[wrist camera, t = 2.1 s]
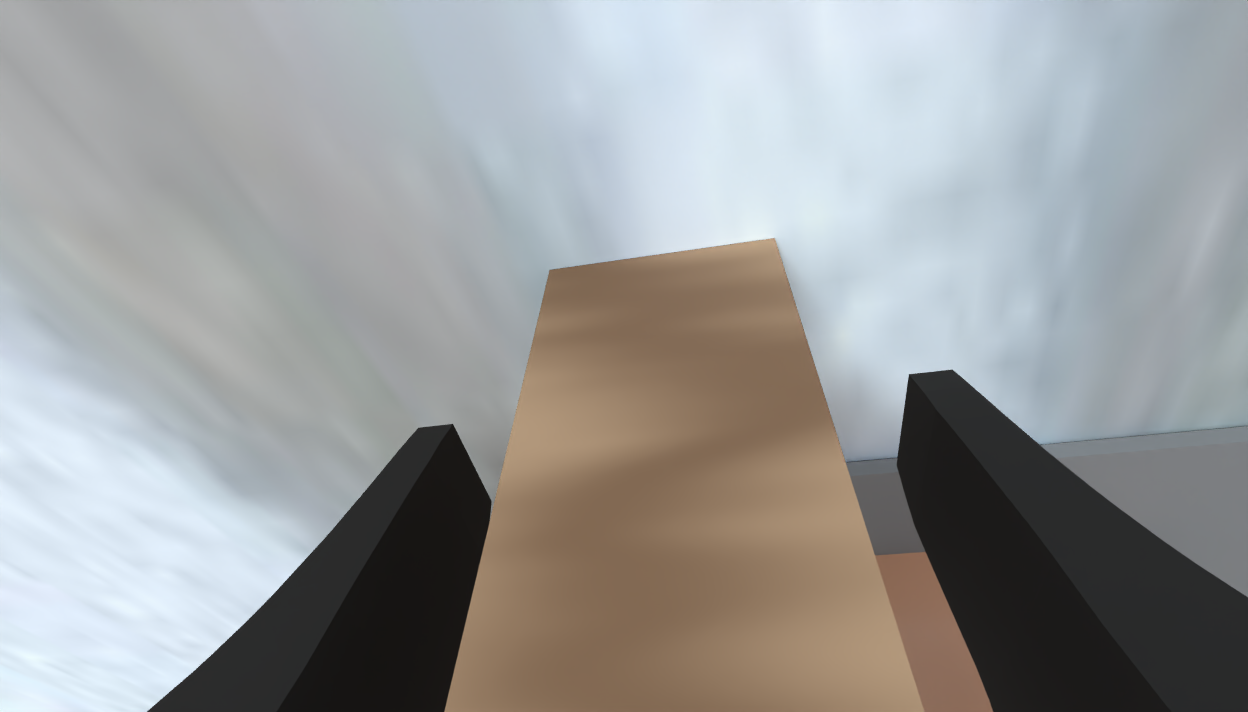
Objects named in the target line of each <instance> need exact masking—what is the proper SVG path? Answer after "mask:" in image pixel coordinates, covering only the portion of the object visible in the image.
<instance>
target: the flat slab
mask: <svg viewBox="0 0 1248 712" xmlns="http://www.w3.org/2000/svg"><path fill="white" fill-rule="evenodd" d="M875 557H876V560H877V563H878V566H879V570H880V573H881V576H882V579H883V582H884V585H885V589H886V592H887V595H888V598H889V601H890V604H891V608H892V611H893V614H894V617H895V620H896V623H897V626H898V630H899V633H900V636H901V639H902V642H903V645H904V649H905V652H906V655H907V658H908V661H909V664H910V668H911V671H912V674H913V677H914V680H915V683H916V687H917V690H918V693H919V696H920V699H921V702H922V705H923V709H924V712H993V710H992V707H991V704H990V701H989V698H988V696H987V693H986V691H985V688H984V686H983V683H982V681H981V678H980V676H979V673H978V671H977V668H976V666H975V663H974V661H973V659H972V657H971V654H970V652H969V650H968V648H967V645H966V643H965V641H964V638H963V636H962V634H961V632H960V629H959V627H958V625H957V623H956V620H955V618H954V616H953V613H952V611H951V609H950V607H949V604H948V602H947V600H946V598H945V595H944V593H943V591H942V588H941V586H940V584H939V582H938V579H937V577H936V575H935V572H934V570H933V568H932V566H931V563H930V561H929V559H928V556H927V554H926V552H917V553H903V554H889V555H875Z"/></svg>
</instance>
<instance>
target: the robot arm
mask: <svg viewBox="0 0 1248 712" xmlns="http://www.w3.org/2000/svg"><path fill="white" fill-rule="evenodd" d="M897 469H898V472H899V476H900V479H901V483H902V486H903V490H904V493H905V497H906V500H907V503H908V506H909V510H910V513H911V516H912V519H913V523H914V526H915V528H916V531H917V533H918V535H919V538H920V540H921V542H922V545H923V547H924V549H925V552H926V554H927V556H928V559H929V561H930V563H931V566H932V568H933V570H934V572H935V575H936V577H937V579H938V582H939V584H940V586H941V588H942V591H943V593H944V595H945V598H946V600H947V602H948V604H949V607H950V609H951V611H952V613H953V616H954V618H955V620H956V623H957V625H958V627H959V629H960V632H961V634H962V636H963V638H964V641H965V643H966V645H967V648H968V650H969V652H970V654H971V657H972V659H973V661H974V663H975V666H976V668H977V671H978V673H979V676H980V678H981V681H982V683H983V686H984V688H985V691H986V693H987V696H988V698H989V701H990V704H991V707H992V710H993V712H1248V597H1247V596H1245V595H1244V594H1242V593H1241V592H1239V591H1237V590H1236V589H1234V588H1233V587H1231V586H1230V585H1228V584H1227V583H1225V582H1224V581H1222V580H1221V579H1219V578H1218V577H1216V576H1215V575H1213V574H1211V573H1210V572H1208V571H1207V570H1205V569H1204V568H1202V567H1201V566H1199V565H1198V564H1196V563H1195V562H1193V561H1192V560H1190V559H1189V558H1187V557H1186V556H1185V555H1183V554H1182V553H1180V552H1179V551H1177V550H1176V549H1174V548H1173V547H1172V546H1170V545H1169V544H1167V543H1166V542H1164V541H1163V540H1162V539H1160V538H1159V537H1157V536H1156V535H1155V534H1153V533H1152V532H1151V531H1149V530H1148V529H1147V528H1145V527H1144V526H1143V525H1141V524H1140V523H1138V522H1137V521H1136V520H1134V519H1133V518H1132V517H1130V516H1129V515H1128V514H1126V513H1125V512H1124V511H1122V510H1121V509H1120V508H1118V507H1117V506H1116V505H1114V504H1113V503H1112V502H1110V501H1109V500H1108V499H1106V498H1105V497H1104V496H1103V495H1101V494H1100V493H1099V492H1097V491H1096V490H1095V489H1094V488H1092V487H1091V486H1090V485H1088V484H1087V483H1086V482H1085V481H1084V480H1082V479H1081V478H1080V477H1079V476H1077V475H1076V474H1075V473H1074V472H1072V471H1071V470H1070V469H1069V468H1067V467H1066V466H1065V465H1064V464H1062V463H1061V462H1060V461H1059V460H1057V459H1056V458H1055V457H1054V456H1053V455H1051V454H1050V453H1049V452H1048V451H1046V450H1045V449H1044V448H1043V447H1042V446H1040V445H1039V444H1038V443H1037V442H1036V441H1034V440H1033V439H1032V438H1031V437H1030V436H1029V435H1027V434H1026V433H1025V432H1024V431H1023V430H1022V429H1020V428H1019V427H1018V426H1017V425H1016V424H1015V423H1013V422H1012V421H1011V420H1010V419H1009V418H1008V417H1006V416H1005V415H1004V414H1003V413H1002V412H1001V411H1000V410H998V409H997V408H996V407H995V406H994V405H993V404H992V403H990V402H989V401H988V400H987V399H986V398H985V397H984V396H982V395H981V394H980V393H979V392H978V391H977V390H976V389H974V388H973V387H972V386H971V385H970V384H969V383H968V382H966V381H965V380H964V379H963V378H962V377H961V376H959V375H958V374H957V373H956V372H954V371H953V370H945V371H936V372H927V373H917V374H909V378H908V386H907V393H906V400H905V407H904V414H903V422H902V429H901V436H900V443H899V450H898V458H897ZM490 512H491V500H490V497H489V495H488V493H487V491H486V489H485V487H484V485H483V483H482V481H481V479H480V477H479V475H478V473H477V471H476V469H475V467H474V465H473V463H472V461H471V459H470V457H469V455H468V453H467V451H466V449H465V447H464V445H463V443H462V441H461V439H460V437H459V435H458V433H457V431H456V429H455V427H454V425H453V424H449V425H440V426H431V427H422V428H418V429H417V430H416V431H415V432H414V434H413V435H412V436H411V437H410V438H409V439H408V440H407V442H406V443H405V444H404V445H403V446H402V447H401V449H400V450H399V451H398V452H397V453H396V455H395V456H394V457H393V458H392V459H391V461H390V462H389V463H388V464H387V465H386V467H385V468H384V469H383V470H382V471H381V473H380V474H379V475H378V476H377V478H376V479H375V480H374V481H373V482H372V484H371V485H370V486H369V487H368V488H367V490H366V491H365V492H364V493H363V494H362V495H361V497H360V498H359V499H358V500H357V501H356V503H355V504H354V505H353V506H352V507H351V508H350V510H349V511H348V512H347V513H346V514H345V515H344V517H343V518H342V519H341V520H340V521H339V523H338V524H337V525H336V526H335V527H334V528H333V530H332V531H331V532H330V533H329V534H328V535H327V537H326V538H325V539H324V540H323V541H322V542H321V543H320V544H319V545H318V546H317V547H316V549H315V550H314V551H313V552H312V553H311V554H310V555H309V556H308V557H307V558H306V559H305V561H304V562H303V563H302V564H301V565H300V566H299V567H298V568H297V569H296V570H295V571H294V573H293V574H292V575H291V576H290V577H289V578H288V579H287V580H286V581H285V582H284V583H283V585H282V586H281V587H280V588H279V589H278V590H277V591H276V592H275V593H274V594H273V595H272V596H271V597H270V598H269V599H268V600H267V601H266V602H265V604H264V605H263V606H262V607H261V608H260V609H259V610H258V611H257V612H256V613H255V614H254V615H253V616H252V617H251V618H250V619H249V620H248V621H247V622H246V623H245V624H244V625H243V626H242V627H240V628H239V629H238V630H237V631H236V632H235V633H234V634H233V635H232V636H231V637H230V638H229V639H228V640H227V641H226V642H225V643H224V644H223V645H222V646H220V647H219V648H218V649H217V650H216V651H215V652H214V653H213V654H212V655H211V656H210V657H209V658H208V659H207V660H206V661H205V662H203V663H202V664H201V665H200V666H199V667H198V668H197V669H196V670H195V671H194V672H192V673H191V674H190V675H189V676H188V677H187V678H186V679H184V680H183V681H182V682H181V683H180V684H179V685H177V686H176V687H175V688H174V689H173V690H172V691H170V692H169V693H168V694H167V695H166V696H165V697H163V698H162V699H161V700H160V701H159V702H158V703H157V704H155V705H154V706H153V707H152V708H151V709H150V710H148V711H147V712H444V711H445V707H446V703H447V699H448V694H449V690H450V686H451V682H452V678H453V674H454V669H455V665H456V661H457V657H458V653H459V648H460V644H461V640H462V636H463V632H464V627H465V623H466V619H467V615H468V611H469V606H470V602H471V598H472V594H473V590H474V585H475V581H476V577H477V573H478V569H479V565H480V560H481V556H482V552H483V548H484V544H485V539H486V535H487V531H488V527H489V521H490Z"/></svg>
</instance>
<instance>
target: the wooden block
mask: <svg viewBox="0 0 1248 712" xmlns="http://www.w3.org/2000/svg"><path fill="white" fill-rule="evenodd" d="M444 712H924V709H923V705H922V702H921V699H920V696H919V693H918V690H917V687H916V683H915V680H914V677H913V674H912V671H911V668H910V664H909V661H908V658H907V655H906V652H905V649H904V645H903V642H902V639H901V636H900V633H899V630H898V626H897V623H896V620H895V617H894V614H893V611H892V608H891V604H890V601H889V598H888V595H887V592H886V589H885V585H884V582H883V579H882V576H881V573H880V570H879V566H878V563H877V560H876V557H875V554H874V551H873V547H872V544H871V541H870V538H869V535H868V532H867V528H866V525H865V522H864V519H863V516H862V513H861V510H860V506H859V503H858V500H857V497H856V494H855V491H854V487H853V484H852V481H851V478H850V475H849V472H848V468H847V465H846V462H845V459H844V456H843V453H842V449H841V446H840V443H839V440H838V437H837V434H836V431H835V427H834V424H833V421H832V418H831V415H830V412H829V408H828V405H827V402H826V399H825V396H824V393H823V389H822V386H821V383H820V380H819V377H818V374H817V370H816V367H815V364H814V361H813V358H812V355H811V352H810V348H809V345H808V342H807V339H806V336H805V333H804V329H803V326H802V323H801V320H800V317H799V314H798V310H797V307H796V304H795V301H794V298H793V295H792V291H791V288H790V285H789V282H788V279H787V276H786V272H785V269H784V266H783V263H782V260H781V257H780V254H779V250H778V247H777V244H776V241H775V238H773V239H766V240H758V241H751V242H744V243H737V244H730V245H723V246H716V247H709V248H702V249H695V250H688V251H681V252H674V253H666V254H659V255H652V256H645V257H638V258H631V259H624V260H617V261H610V262H603V263H596V264H589V265H582V266H575V267H567V268H560V269H553V270H550V271H549V275H548V279H547V284H546V288H545V292H544V296H543V300H542V305H541V309H540V313H539V317H538V321H537V326H536V330H535V334H534V338H533V342H532V347H531V351H530V355H529V359H528V363H527V367H526V372H525V376H524V380H523V384H522V388H521V393H520V397H519V401H518V405H517V409H516V414H515V418H514V422H513V426H512V430H511V435H510V439H509V443H508V447H507V451H506V456H505V460H504V464H503V468H502V472H501V476H500V481H499V485H498V489H497V493H496V497H495V502H494V506H493V510H492V514H491V518H490V523H489V527H488V531H487V535H486V539H485V544H484V548H483V552H482V556H481V560H480V565H479V569H478V573H477V577H476V581H475V585H474V590H473V594H472V598H471V602H470V606H469V611H468V615H467V619H466V623H465V627H464V632H463V636H462V640H461V644H460V648H459V653H458V657H457V661H456V665H455V669H454V674H453V678H452V682H451V686H450V690H449V694H448V699H447V703H446V707H445V711H444Z"/></svg>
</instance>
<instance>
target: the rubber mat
mask: <svg viewBox="0 0 1248 712" xmlns="http://www.w3.org/2000/svg"><path fill="white" fill-rule="evenodd" d="M1040 446H1042V447H1043V448H1044V449H1045V450H1046V451H1048V452H1049V453H1050V454H1051V455H1053V456H1054V457H1055V458H1056V459H1057V460H1059V461H1060V462H1061V463H1062V464H1064V465H1065V466H1066V467H1067V468H1069V469H1070V470H1071V471H1072V472H1074V473H1075V474H1076V475H1077V476H1079V477H1080V478H1081V479H1082V480H1084V481H1085V482H1086V483H1087V484H1088V485H1090V486H1091V487H1092V488H1094V489H1095V490H1096V491H1097V492H1099V493H1100V494H1101V495H1103V496H1104V497H1105V498H1106V499H1108V500H1109V501H1110V502H1112V503H1113V504H1114V505H1116V506H1117V507H1118V508H1120V509H1121V510H1122V511H1124V512H1125V513H1126V514H1128V515H1129V516H1130V517H1132V518H1133V519H1134V520H1136V521H1137V522H1138V523H1140V524H1141V525H1143V526H1144V527H1145V528H1147V529H1148V530H1149V531H1151V532H1152V533H1153V534H1155V535H1156V536H1157V537H1159V538H1160V539H1162V540H1163V541H1164V542H1166V543H1167V544H1169V545H1170V546H1172V547H1173V548H1174V549H1176V550H1177V551H1179V552H1180V553H1182V554H1183V555H1185V556H1186V557H1187V558H1189V559H1190V560H1192V561H1193V562H1195V563H1196V564H1198V565H1199V566H1201V567H1202V568H1204V569H1205V570H1207V571H1208V572H1210V573H1211V574H1213V575H1215V576H1216V577H1218V578H1219V579H1221V580H1222V581H1224V582H1225V583H1227V584H1228V585H1230V586H1231V587H1233V588H1234V589H1236V590H1237V591H1239V592H1241V593H1242V594H1244V595H1245V596H1247V597H1248V426H1244V427H1233V428H1222V429H1211V430H1200V431H1189V432H1178V433H1167V434H1156V435H1145V436H1134V437H1123V438H1111V439H1100V440H1089V441H1078V442H1067V443H1056V444H1045V445H1040ZM846 465H847V468H848V472H849V475H850V478H851V481H852V484H853V487H854V491H855V494H856V497H857V500H858V503H859V506H860V510H861V513H862V516H863V519H864V522H865V525H866V528H867V532H868V535H869V538H870V541H871V544H872V547H873V551H874V554H875V555H889V554H903V553H917V552H925V549H924V547H923V545H922V542H921V540H920V538H919V535H918V533H917V531H916V528H915V526H914V523H913V519H912V516H911V513H910V510H909V506H908V503H907V500H906V497H905V493H904V490H903V486H902V483H901V479H900V476H899V472H898V469H897V458H891V459H880V460H869V461H858V462H847V463H846Z"/></svg>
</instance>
